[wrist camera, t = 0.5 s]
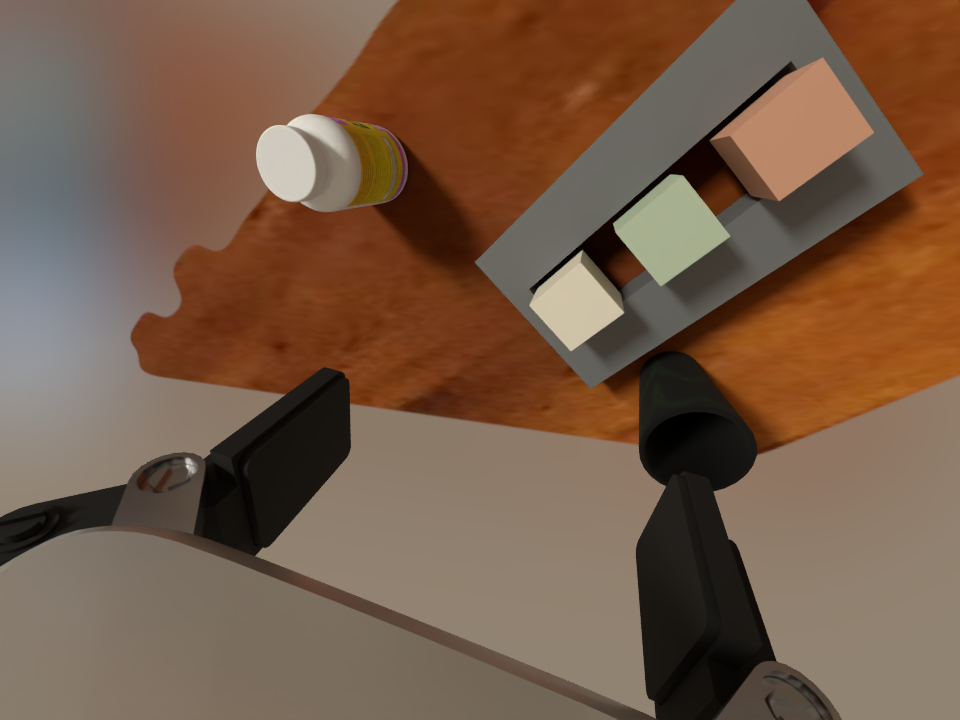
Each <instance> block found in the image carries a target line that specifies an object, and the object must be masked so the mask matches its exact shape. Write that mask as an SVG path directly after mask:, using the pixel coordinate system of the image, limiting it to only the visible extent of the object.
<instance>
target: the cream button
mask: <svg viewBox="0 0 960 720" xmlns="http://www.w3.org/2000/svg"><path fill="white" fill-rule="evenodd" d="M529 306H530V307H531V308H532V309H533V310H534V311H535V313H536V314H537V315H538V316H539V317H540V318H541V319H542V320H543V321H544V322H545V324H546V325H547V326H548V327H549V328H550V329H551V330H552V331H553V332H554V333H555V335H556V336H557V337H558V338H559V339H560V340H561V341H562V342H563V343H564V344H565V345H566V347H567V348H568V349H569V350H570V351H572V350H574V349H575V348H576V347H578V346H579V345H581V344H582V343H583V342H585V341H586V340H587V339H589V338H590V337H592V336H593V335H594V334H596V333H597V332H599V331H600V330H601V329H603V328H604V327H606V326H607V325H608V324H610V323H611V322H612V321H614V320H615V319H617V318H618V317H619V316H621V315H622V314H624V308H623V303H622V297H621V294H620V292H619V291H618V290H617V289H616V288H615V287H614V285H613V284H612V283H611V282H610V281H609V280H608V278H607V277H606V276H605V275H604V274H603V273H602V272H601V270H600V269H599V268H598V267H597V266H596V265H595V263H594V262H593V261H592V260H591V259H590V258H589V256H588V255H587V254H586V253H585V252H584V251H583V250H582V251H581V252H579V253H578V254H577V255H576V256H575V257H574V258H572V259H571V260H570V261H569V262H568V263H567V264H565V265H564V266H563V267H562V268H561V269H560V270H558V271H557V272H556V273H555V274H554V275H553V276H551V277H550V278H549V279H548V280H547V281H546V282H544V283H543V284H542V285H541V286H540V287H539V288H538V289H537V291H536V293H535V295H534V297H533V299H532V301H531V303H530V305H529Z"/></svg>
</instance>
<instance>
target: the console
mask: <svg viewBox="0 0 960 720" xmlns="http://www.w3.org/2000/svg"><path fill="white" fill-rule="evenodd" d="M821 58H824V60H825V61H826V63H827V64H828V65H829V67H830V68H831V70H832V71H833V73H834V74H835V76H836V77H837V79H838V80H839V82H840V83H841V85H842V86H843V87H844V89H845V90H846V92H847V93H848V95H849V96H850V98H851V99H852V101H853V102H854V104H855V105H856V107H857V108H858V109H859V111H860V112H861V114H862V115H863V117H864V118H865V120H866V121H867V123H868V124H869V126H870V127H871V128H872V130H873V131H874V133H873V134H872V135H870V136H869V137H868V138H866V139H865V140H863V141H862V142H861V143H859V144H858V145H857V146H855V147H854V148H852V149H851V150H850V151H848V152H847V153H845V154H844V155H843V156H841V157H840V158H839V159H837V160H836V161H834V162H833V163H832V164H830V165H829V166H827V167H826V168H825V169H823V170H822V171H820V172H819V173H818V174H816V175H815V176H814V177H812V178H811V179H809V180H808V181H807V182H805V183H804V184H802V185H801V186H800V187H798V188H797V189H796V190H794V191H793V192H791V193H790V194H789V195H787V196H786V197H784V198H783V199H782V200H780V201H775V200H770V199H764V198H759V197H754V196H751V195H750V194H749V192H748V193H746V194H745V195H744V196H742V197H741V198H740V199H738V200H737V201H736V202H734V203H733V204H732V205H730V206H729V207H728V208H727V209H725V210H724V211H723V212H721V213H720V214H719V215H717V216H716V218H717V219H718V221H719V222H720V223H721V225H722V226H723V227H724V228H725V230H726V231H727V232H728V234H729V235H730V237H729V238H728V239H726V240H725V241H723V242H722V243H721V244H719V245H718V246H716V247H715V248H714V249H712V250H711V251H710V252H708V253H707V254H705V255H704V256H703V257H701V258H700V259H698V260H697V261H696V262H694V263H693V264H691V265H690V266H689V267H687V268H686V269H685V270H683V271H682V272H680V273H679V274H678V275H676V276H675V277H673V278H672V279H671V280H669V281H668V282H667V283H665V284H664V285H662V286H660V285H659V284H658V283H657V281H656V280H655V279H654V278H653V277H652V276H651V274H650V273H649V272H648V271H647V270H645V271H644V272H642V273H641V274H640V275H638V276H637V277H636V278H634V279H633V280H632V281H630V282H629V283H628V284H626V285H625V286H624V287H622V288H621V289H620V290H618V291H619V292H620V294H621V297H622V303H623V308H624V314H622V315H621V316H619V317H618V318H617V319H615V320H614V321H612V322H611V323H610V324H608V325H607V326H606V327H604V328H603V329H601V330H600V331H599V332H597V333H596V334H594V335H593V336H592V337H590V338H589V339H587V340H586V341H585V342H583V343H582V344H581V345H579V346H578V347H576V348H575V349H574V350H572V351H570V350H569V349H568V348H567V347H566V345H565V344H564V343H563V342H562V341H561V340H560V339H559V338H558V337H557V336H556V335H555V333H554V332H553V331H552V330H551V329H550V328H549V327H548V326H547V325H546V324H545V322H544V321H543V320H542V319H541V318H540V317H539V316H538V315H537V314H536V313H535V311H534V310H533V309H532V308H531V307H530V306H529V305H530V303H531V301H532V299H533V297H534V295H535V293H536V291H537V289H538V288H539V287H540V286H541V285H540V283H539V282H538V281H539V280H540V279H541V278H543V277H544V276H545V275H546V274H547V273H548V272H549V271H551V270H552V269H553V268H554V267H555V266H556V265H557V264H559V263H560V262H561V261H562V260H563V259H564V258H565V257H567V256H568V255H569V254H570V253H571V252H572V251H574V250H575V249H576V248H577V247H578V246H579V245H580V244H582V243H583V242H584V241H585V240H586V239H587V238H588V237H590V236H591V235H592V234H593V233H594V232H595V231H596V230H598V229H599V228H600V227H601V226H602V225H603V224H604V223H606V222H607V221H608V220H609V219H610V218H611V217H613V216H614V215H615V214H616V213H617V212H618V211H619V210H621V209H622V208H623V207H624V206H625V205H626V204H627V203H629V202H630V201H631V200H632V199H633V198H634V197H635V196H637V195H638V194H639V193H640V192H641V191H642V190H644V189H645V188H646V187H647V186H648V185H649V184H650V183H652V182H653V181H654V180H655V179H656V178H657V177H658V176H660V175H661V174H662V173H663V172H664V171H665V170H666V169H668V168H669V167H670V166H671V165H672V164H673V163H675V162H676V161H677V160H678V159H679V158H680V157H681V156H683V155H684V154H685V153H686V152H687V151H688V150H689V149H691V148H692V147H693V146H694V145H695V144H696V143H697V142H699V141H700V140H701V139H702V138H703V137H704V136H706V135H707V134H708V133H709V132H710V131H711V130H712V129H714V128H715V127H716V126H717V125H718V124H719V123H720V122H722V121H723V120H724V119H725V118H726V117H727V116H728V115H730V114H731V113H732V112H733V111H734V110H735V109H736V108H738V107H739V106H740V105H741V104H742V103H743V102H745V101H746V100H747V99H748V98H749V97H750V96H751V95H753V94H754V93H755V92H756V91H757V90H758V89H759V88H761V87H762V86H763V85H764V84H765V83H766V82H767V81H769V80H770V79H771V80H772V82H773V83H774V84H776V83H777V82H778V81H779V80H780V79H782V78H783V77H784V76H786V75H788V74H790V73H792V72H794V71H796V70H798V69H800V68H802V67H804V66H806V65H808V64H810V63H812V62H814V61H816V60H818V59H821ZM922 175H923V172H922V171H921V169H920V168H919V166H918V165H917V164H916V162H915V161H914V159H913V158H912V156H911V155H910V153H909V152H908V150H907V149H906V147H905V146H904V144H903V143H902V141H901V140H900V138H899V137H898V135H897V134H896V132H895V131H894V129H893V128H892V126H891V125H890V123H889V122H888V120H887V119H886V117H885V116H884V114H883V113H882V111H881V110H880V109H879V107H878V106H877V104H876V103H875V101H874V100H873V98H872V97H871V95H870V94H869V92H868V91H867V89H866V88H865V86H864V85H863V83H862V82H861V80H860V79H859V77H858V76H857V74H856V73H855V71H854V70H853V68H852V67H851V65H850V64H849V62H848V61H847V59H846V58H845V56H844V55H843V54H842V52H841V51H840V49H839V48H838V46H837V45H836V43H835V42H834V40H833V39H832V37H831V36H830V34H829V33H828V31H827V30H826V28H825V27H824V25H823V24H822V22H821V21H820V19H819V18H818V16H817V15H816V13H815V12H814V10H813V9H812V7H811V6H810V4H809V3H808V1H807V0H736V1H735V2H734V3H733V4H732V5H731V6H730V7H729V8H728V9H727V10H726V11H725V12H724V13H723V14H722V15H721V16H720V17H719V18H718V19H717V20H716V21H715V22H714V23H713V24H712V25H711V26H710V27H709V28H708V29H707V30H706V31H705V32H704V33H703V34H702V35H701V36H700V37H699V38H698V39H697V40H696V41H695V42H694V43H693V44H692V45H691V46H690V47H689V48H688V49H687V50H686V51H685V52H684V53H683V54H682V55H681V56H680V57H679V58H678V59H677V60H676V61H675V62H674V63H673V64H672V65H671V66H670V67H669V68H668V69H667V70H666V71H665V72H664V73H663V74H662V75H661V76H660V77H659V78H658V79H657V80H656V81H655V82H654V83H653V84H652V85H651V86H650V87H649V88H648V89H647V90H646V91H645V92H644V93H643V94H642V95H641V96H640V97H639V98H638V99H637V100H636V101H635V102H634V103H633V104H632V105H631V106H630V107H629V108H628V109H627V110H626V111H625V112H624V113H623V114H622V115H621V116H620V117H619V118H618V119H617V120H616V121H615V122H614V123H613V124H612V125H611V126H610V127H609V128H608V129H607V130H606V131H605V132H604V133H603V134H602V135H601V136H600V137H599V138H598V139H597V140H596V141H595V142H594V143H593V144H592V145H591V146H590V147H589V148H588V149H587V150H586V151H585V152H584V153H583V154H582V155H581V156H580V157H579V158H578V159H577V160H576V161H575V162H574V163H573V164H572V165H571V166H570V167H569V168H568V169H567V170H566V171H565V172H564V173H563V174H562V175H561V176H560V177H559V178H558V179H557V180H556V181H555V182H554V183H553V184H552V185H551V186H550V187H549V188H548V189H547V190H546V191H545V192H544V193H543V194H542V195H541V196H540V197H539V198H538V199H537V200H536V201H535V202H534V203H533V204H532V205H531V206H530V207H529V208H528V209H527V210H526V211H525V212H524V213H523V214H522V215H521V216H520V217H519V218H518V219H517V220H516V221H515V222H514V223H513V224H512V225H511V226H510V227H509V228H508V229H507V230H506V231H505V232H504V233H503V234H502V235H501V236H500V237H499V238H498V239H497V240H496V241H495V242H494V243H493V244H492V245H491V246H490V247H489V248H488V249H487V250H486V251H485V252H484V253H483V254H482V255H481V256H480V257H479V258H478V259H477V260H476V261H475V263H476V264H477V266H478V267H479V268H480V269H481V270H482V271H483V272H484V273H485V274H486V275H487V276H488V278H489V279H490V280H491V281H492V282H493V283H494V284H495V285H496V286H497V287H498V288H499V289H500V291H501V292H502V293H503V294H504V295H505V296H506V297H507V298H508V299H509V300H510V301H511V303H512V304H513V305H514V306H515V307H516V308H517V309H518V310H519V311H520V312H521V313H522V315H523V316H524V317H525V318H526V319H527V320H528V321H529V322H530V323H531V324H532V325H533V326H534V328H535V329H536V330H537V331H538V332H539V333H540V334H541V335H542V336H543V337H544V338H545V340H546V341H547V342H548V343H549V344H550V345H551V346H552V347H553V348H554V349H555V350H556V351H557V353H558V354H559V355H560V356H561V357H562V358H563V359H564V360H565V361H566V362H567V363H568V365H569V366H570V367H571V368H572V369H573V370H574V371H575V372H576V373H577V374H578V375H579V377H580V378H581V379H582V380H583V381H584V382H585V383H586V384H587V385H588V386H589V387H590V388H593V387H594V386H596V385H598V384H599V383H601V382H602V381H604V380H605V379H607V378H608V377H610V376H611V375H613V374H615V373H616V372H618V371H619V370H621V369H622V368H624V367H625V366H627V365H629V364H630V363H632V362H633V361H635V360H636V359H638V358H639V357H641V356H642V355H644V354H646V353H647V352H649V351H650V350H652V349H653V348H655V347H656V346H658V345H660V344H661V343H663V342H664V341H666V340H667V339H669V338H670V337H672V336H674V335H675V334H677V333H678V332H680V331H681V330H683V329H684V328H686V327H687V326H689V325H691V324H692V323H694V322H695V321H697V320H698V319H700V318H701V317H703V316H705V315H706V314H708V313H709V312H711V311H712V310H714V309H715V308H717V307H719V306H720V305H722V304H723V303H725V302H726V301H728V300H729V299H731V298H732V297H734V296H736V295H737V294H739V293H740V292H742V291H743V290H745V289H746V288H748V287H750V286H751V285H753V284H754V283H756V282H757V281H759V280H760V279H762V278H764V277H765V276H767V275H768V274H770V273H771V272H773V271H774V270H776V269H777V268H779V267H781V266H782V265H784V264H785V263H787V262H788V261H790V260H791V259H793V258H795V257H796V256H798V255H799V254H801V253H802V252H804V251H805V250H807V249H808V248H810V247H812V246H813V245H815V244H816V243H818V242H819V241H821V240H822V239H824V238H826V237H827V236H829V235H830V234H832V233H833V232H835V231H836V230H838V229H840V228H841V227H843V226H844V225H846V224H847V223H849V222H850V221H852V220H853V219H855V218H857V217H858V216H860V215H861V214H863V213H864V212H866V211H867V210H869V209H871V208H872V207H874V206H875V205H877V204H878V203H880V202H881V201H883V200H885V199H886V198H888V197H889V196H891V195H892V194H894V193H895V192H897V191H898V190H900V189H902V188H903V187H905V186H906V185H908V184H909V183H911V182H912V181H914V180H916V179H917V178H919V177H920V176H922Z"/></svg>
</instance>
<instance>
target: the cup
mask: <svg viewBox="0 0 960 720" xmlns="http://www.w3.org/2000/svg"><path fill="white" fill-rule="evenodd" d="M639 454H640V460H641V462H642V464H643V467H644V468H645V470H646V471H647V472H648V473H649V475H650V476H651V477H652V478H654V479H655V480H656V481H658V482H659V483H661V484H663V485H665V486H667V484H668V482H669V480H670V478H671V477H672V476H673V475H674V474H675V475H680V474H681V473H682V472H684V471H685V472H689V473H692V474H696V475H699V476H703V477H706V478H708V479H709V481H710V483H711V486H712V489H713V491H716V490H720V489H724V488H726V487H728V486H730V485H732V484H734V483H736V482H738V481H739V480H740V479H741V478H743V477H744V476H745V475H746V474H747V473H748V472H749V470H750V469H751V468H752V466H753V464H754V461H755V459H756V456H757V443H756V440H755V437H754V434H753V433H752V431H751V430H750V429H749V427H748V426H747V425H746V423H745V422H744V421H743V420H742V418H741V417H740V416H739V415H738V413H737V412H736V411H735V410H734V408H733V407H732V406H731V405H730V403H729V402H728V401H727V400H726V398H725V397H724V396H723V395H722V393H721V392H720V391H719V390H718V388H717V387H716V386H715V385H714V383H713V382H712V381H711V380H710V378H709V377H708V376H707V375H706V373H705V372H704V371H703V370H702V368H701V367H700V366H699V365H698V363H697V362H696V361H695V360H694V359H693V358H692V357H690V356H689V355H687V354H684V353H681V352H676V351H669V352H663V353H659V354H657V355H655V356H653V357H652V358H650V359H649V360H648V361H647V362H646V363H645V364H644V365H643V367H642V369H641V372H640V382H639Z"/></svg>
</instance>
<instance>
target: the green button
mask: <svg viewBox="0 0 960 720" xmlns="http://www.w3.org/2000/svg"><path fill="white" fill-rule="evenodd" d="M613 225H614V229H615V233H616V234H617V235H618V236H619V237H620V239H621V240H622V241H623V242H624V243H625V245H626V246H627V247H628V248H629V249H630V250H631V252H632V253H633V254H634V255H635V256H636V258H637V259H638V260H639V261H640V262H641V264H642V265H643V266H644V267H645V268H646V270H647V271H648V272H649V273H650V274H651V276H652V277H653V278H654V279H655V280H656V281H657V283H658V284H659V285H660V286H662V285H664V284H665V283H667V282H668V281H669V280H671V279H672V278H673V277H675V276H676V275H678V274H679V273H680V272H682V271H683V270H685V269H686V268H687V267H689V266H690V265H691V264H693V263H694V262H696V261H697V260H698V259H700V258H701V257H703V256H704V255H705V254H707V253H708V252H710V251H711V250H712V249H714V248H715V247H716V246H718V245H719V244H721V243H722V242H723V241H725V240H726V239H728V238H729V237H730V235H729V234H728V232H727V231H726V230H725V228H724V227H723V226H722V225H721V223H720V222H719V221H718V219H717V218H716V217H715V216H714V214H713V213H712V212H711V211H710V209H709V208H708V207H707V205H706V204H705V203H704V202H703V200H702V199H701V198H700V197H699V195H698V194H697V193H696V191H695V190H694V189H693V188H692V186H691V185H690V184H689V183H688V181H687V180H686V179H685V177H684V176H683V175H672V174H670V175H669V176H668V177H667V178H665V179H664V180H663V181H662V182H661V183H660V184H658V185H657V186H656V187H655V188H654V189H653V190H651V191H650V192H649V193H648V194H647V195H646V196H644V197H643V198H642V199H641V200H640V201H639V202H637V203H636V204H635V205H634V206H633V207H632V208H630V209H629V210H628V211H627V212H626V213H625V214H624V215H622V216H621V217H620V218H619V219H618V220H617V221H615V222H614V223H613Z"/></svg>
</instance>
